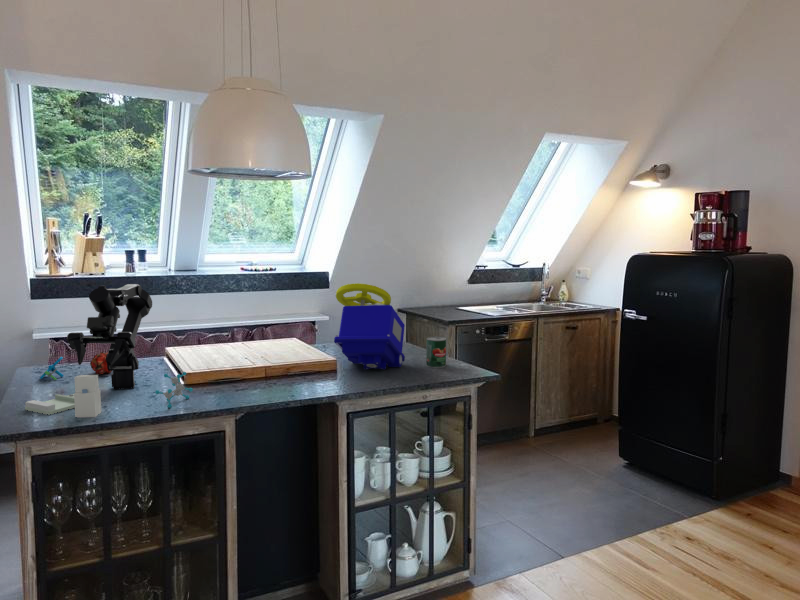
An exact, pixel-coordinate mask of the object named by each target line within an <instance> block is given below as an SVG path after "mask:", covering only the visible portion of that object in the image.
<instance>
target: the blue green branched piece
mask: <svg viewBox="0 0 800 600" xmlns="http://www.w3.org/2000/svg"><path fill="white" fill-rule="evenodd" d="M63 358H64V357H63V356H60V357H59V358H58V359H57V360H56V361H55V362H54V363H52V364H49V365H48V366H47V370H46V371H45V372H43V374H42V375H40V377H39V379H40V380H42V379H43V378H45V377H46V376H47V378H52V379H53V380H54V381H55V380H56V381H57V380H58V378H56V377H55V376H54V375H53V374H54V373H55V374H57V376H59V378H63V377H65V376H64V374H63V373H61V372H60V371H59V370H58V368H56V366H57V365H58V364H59V363H60V362H61V361H62V360H63Z"/></svg>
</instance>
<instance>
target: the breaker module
mask: <svg viewBox="0 0 800 600" xmlns="http://www.w3.org/2000/svg"><path fill="white" fill-rule="evenodd" d="M99 385H100V384H99V375H96V374H84V375H83V374H82V375H81V374H80V375H76V376H74V389H75V391H74V393H73V394H74V403H75V408H74V414H75V415H74V416H75V417H77V418H96V417H98V416H99V415H100V414H101V413H102V401H101V400H102V398H101V396H102V395H101V388H99V387H100V386H99ZM98 414H99V415H98Z"/></svg>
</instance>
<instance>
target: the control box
mask: <svg viewBox="0 0 800 600" xmlns="http://www.w3.org/2000/svg"><path fill="white" fill-rule="evenodd" d="M351 292H358V293H356V294H355V295H354V296H353V295H352V296H344V295H345V294H346V293H351ZM371 294H373V295H376V296H378V297H380V298H381V299H382V301H379V300H376V299H373V298H372V295H371ZM335 298H336V300H337V302H339V303H340V305H342V306H343V307H342V312H341V319H340V325H339V331H338V334H337V335H335V336H334V339H333V342H334V344H335V345H336V346H337V347H338V348H339V349H340V350H341V353H342V354H343V355H344V356H345V357H346V358H347V361H348V362H350V363H352V364H355V365H357V364H360V365H363V370H370V369H378V370H383V371H384V370H385V371H386V368H387V367H388V368H401V367H402V366H403V362H405V358H406V357H405V354H404V352H403V347H404V345H403V344H404V335H405V327H406V326H405V323H404V322H403V320H402V319H401V317H400V316H399V314H398V313H397V312H396V310H395V309H394V307H393V306H392V305H391V303H392V296H391V295H390V294H389V292H388V291H387V290H384V288H381V287H379V286H376V285H373V284H367V283H360V282H358V283H347V284H344V285H341V286H339V287H338V288H337V290H336V291H335Z"/></svg>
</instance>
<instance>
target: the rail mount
mask: <svg viewBox="0 0 800 600" xmlns="http://www.w3.org/2000/svg"><path fill="white" fill-rule="evenodd" d="M24 403H25V407H24V410H25V411H27V410H28V412H32V411H33V412H32V413H37V412H38V414H42V413H43V415H47V414H48V416H51V415H54V413H55V414H57V412H58V413H61V411H62V412H65V411H68V409H69V410H71V409H75V403H74V393H73V394H72V393H71V394H69V395H64V394H54V398H53V399H50V400H46V401H40V400H34V399H32V400H28V401H25V402H24ZM50 414H51V415H50Z"/></svg>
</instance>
